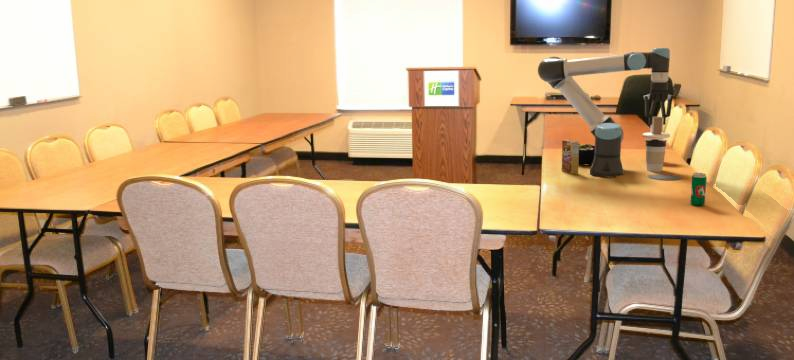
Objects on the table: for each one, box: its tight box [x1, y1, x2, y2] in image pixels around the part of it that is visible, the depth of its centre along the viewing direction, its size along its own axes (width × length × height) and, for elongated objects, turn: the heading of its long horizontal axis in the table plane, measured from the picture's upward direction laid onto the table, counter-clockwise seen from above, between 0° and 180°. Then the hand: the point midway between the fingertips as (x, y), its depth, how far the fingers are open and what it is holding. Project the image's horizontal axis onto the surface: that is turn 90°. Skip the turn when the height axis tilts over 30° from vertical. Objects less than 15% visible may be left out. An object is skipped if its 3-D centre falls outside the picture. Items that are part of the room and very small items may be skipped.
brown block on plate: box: [642, 116, 671, 139], centre depth 318 cm, size 12×12×9 cm
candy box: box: [561, 139, 580, 175], centre depth 323 cm, size 9×4×15 cm, turn 17°
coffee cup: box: [645, 138, 667, 173], centre depth 321 cm, size 9×9×15 cm
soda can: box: [689, 172, 708, 207], centre depth 255 cm, size 5×5×12 cm
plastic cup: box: [644, 138, 668, 144], centre depth 346 cm, size 11×11×12 cm
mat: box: [646, 173, 684, 182], centre depth 305 cm, size 15×15×1 cm
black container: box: [578, 143, 595, 166], centre depth 346 cm, size 17×17×10 cm
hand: (656, 131), depth 318 cm, fingers closed on brown block on plate, 4 cm apart
